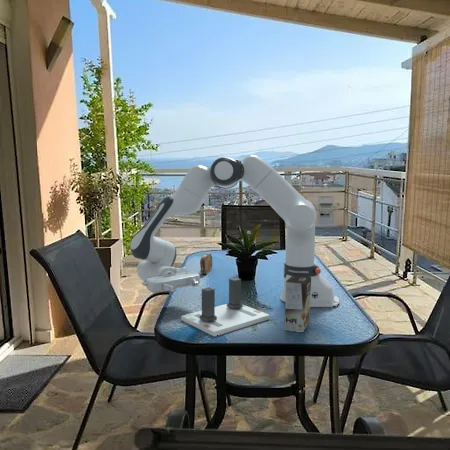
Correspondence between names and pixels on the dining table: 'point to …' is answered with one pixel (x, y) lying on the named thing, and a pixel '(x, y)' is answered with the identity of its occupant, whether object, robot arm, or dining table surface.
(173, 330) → the dining table surface
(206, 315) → the post
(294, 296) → the coffee box
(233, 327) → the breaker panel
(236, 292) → the post
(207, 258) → the tin
